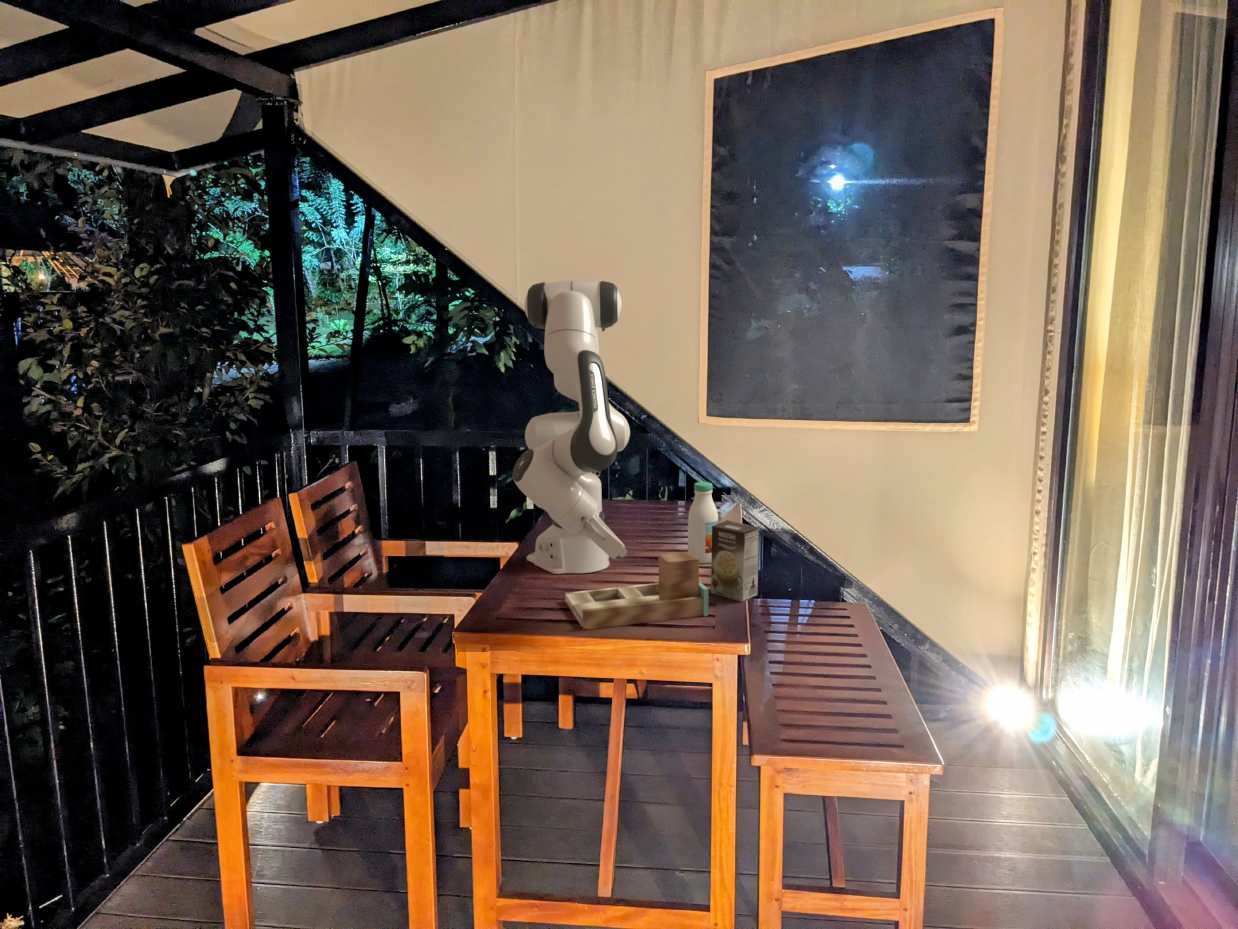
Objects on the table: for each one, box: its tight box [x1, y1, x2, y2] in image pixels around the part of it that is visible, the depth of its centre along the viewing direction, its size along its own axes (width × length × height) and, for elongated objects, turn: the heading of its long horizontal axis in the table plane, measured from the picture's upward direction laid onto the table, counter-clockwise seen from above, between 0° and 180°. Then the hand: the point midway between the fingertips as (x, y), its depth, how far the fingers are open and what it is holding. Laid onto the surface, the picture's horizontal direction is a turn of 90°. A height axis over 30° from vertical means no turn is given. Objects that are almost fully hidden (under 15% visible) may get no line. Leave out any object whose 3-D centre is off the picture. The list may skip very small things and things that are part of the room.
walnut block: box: [658, 551, 700, 601], centre depth 194 cm, size 7×6×10 cm
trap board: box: [564, 582, 704, 630], centre depth 197 cm, size 26×18×4 cm
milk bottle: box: [687, 481, 719, 564], centre depth 229 cm, size 8×8×20 cm
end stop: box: [699, 580, 709, 617], centre depth 200 cm, size 1×18×6 cm, turn 16°
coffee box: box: [710, 520, 760, 602], centre depth 204 cm, size 9×6×16 cm
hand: (623, 553), depth 191 cm, fingers closed
